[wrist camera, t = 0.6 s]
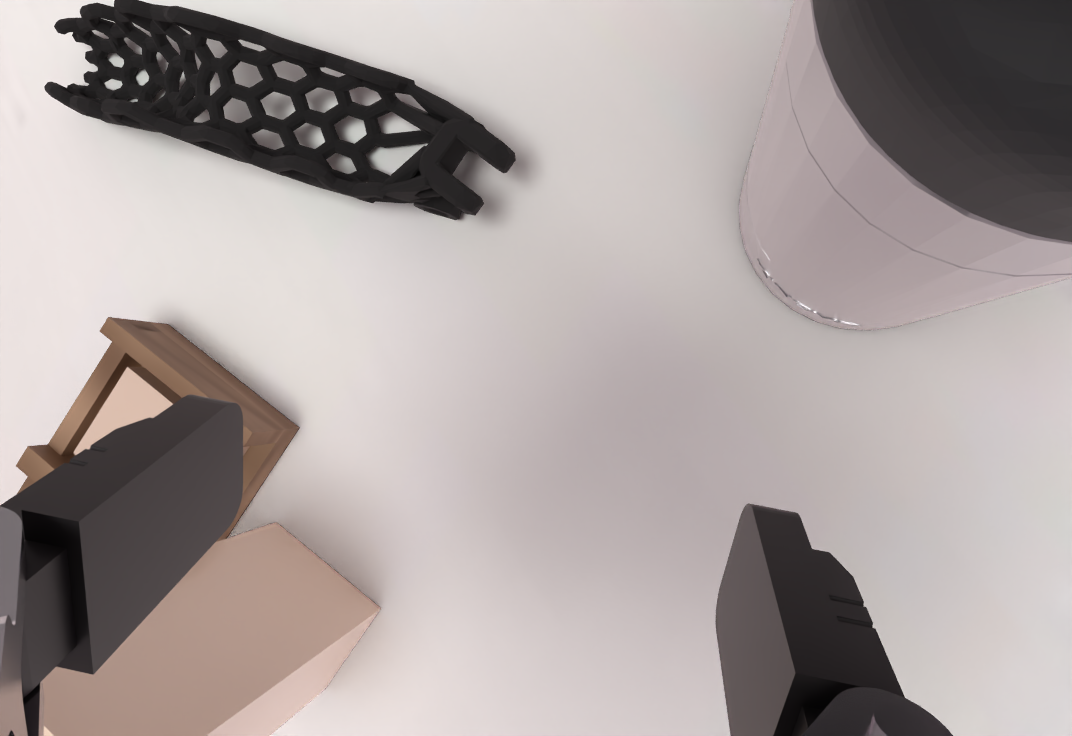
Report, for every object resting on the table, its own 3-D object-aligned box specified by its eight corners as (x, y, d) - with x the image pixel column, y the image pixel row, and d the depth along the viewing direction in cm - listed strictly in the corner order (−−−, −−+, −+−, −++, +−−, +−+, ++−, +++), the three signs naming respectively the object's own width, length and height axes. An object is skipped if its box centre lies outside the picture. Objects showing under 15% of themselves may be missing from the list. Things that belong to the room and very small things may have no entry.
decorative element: (72, 126, 36) (-46, 77, 30) (100, 22, 36) (-14, -47, 30) (511, 249, 32) (472, 219, 26) (546, 131, 31) (514, 75, 26)
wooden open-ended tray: (167, 324, 34) (108, 317, 31) (299, 427, 33) (252, 432, 29) (2, 586, 36) (-73, 607, 32) (121, 696, 34) (56, 731, 31)
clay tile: (157, 368, 33) (127, 366, 31) (251, 443, 32) (226, 446, 30) (105, 449, 33) (72, 452, 32) (197, 526, 32) (168, 534, 31)
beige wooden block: (276, 522, 33) (-55, 631, 18) (381, 608, 32) (119, 798, 17) (223, 601, 33) (-143, 771, 19) (325, 689, 32) (23, 942, 18)
